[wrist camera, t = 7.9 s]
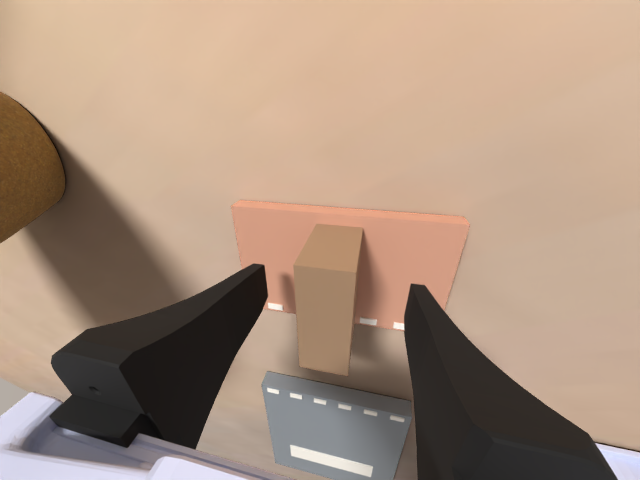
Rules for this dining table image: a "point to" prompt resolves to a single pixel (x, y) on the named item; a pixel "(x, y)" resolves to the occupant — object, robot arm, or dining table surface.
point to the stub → (345, 268)
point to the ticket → (334, 428)
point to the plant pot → (25, 169)
